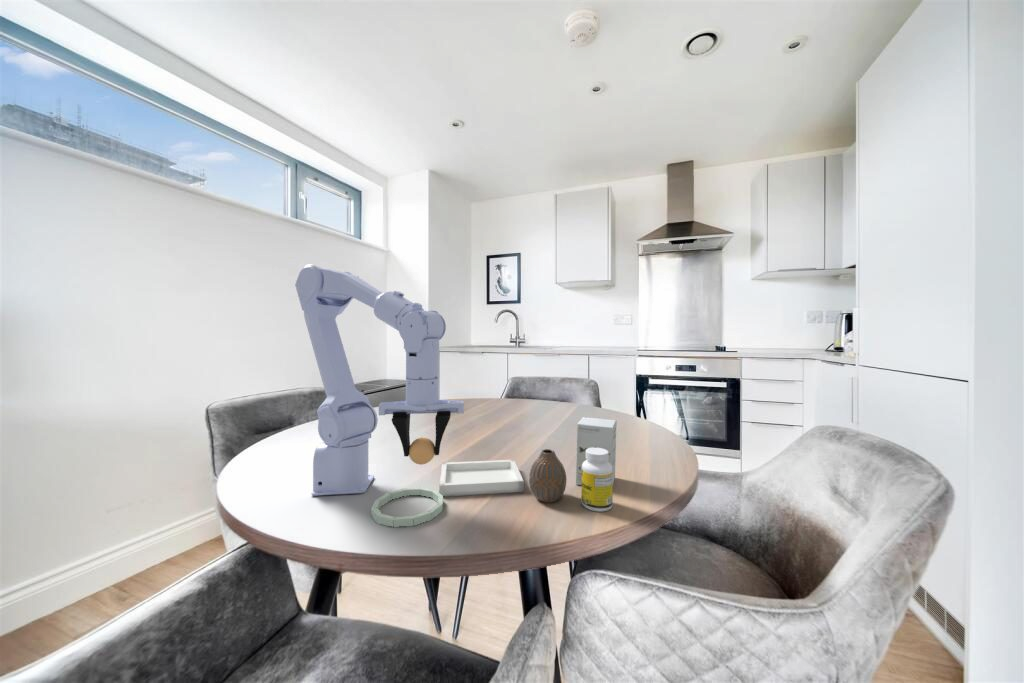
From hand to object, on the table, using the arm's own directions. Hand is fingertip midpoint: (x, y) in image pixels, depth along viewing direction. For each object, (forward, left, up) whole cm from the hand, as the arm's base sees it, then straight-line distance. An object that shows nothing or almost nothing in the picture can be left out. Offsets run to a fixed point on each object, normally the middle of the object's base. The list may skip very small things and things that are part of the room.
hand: (422, 454), depth 62 cm
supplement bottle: (+31, -4, -9) cm, 33 cm away
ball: (0, 0, +1) cm, 1 cm away
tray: (+11, +9, -9) cm, 16 cm away
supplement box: (+35, +6, -9) cm, 37 cm away
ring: (-2, -1, -9) cm, 9 cm away
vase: (+23, 0, -9) cm, 25 cm away
